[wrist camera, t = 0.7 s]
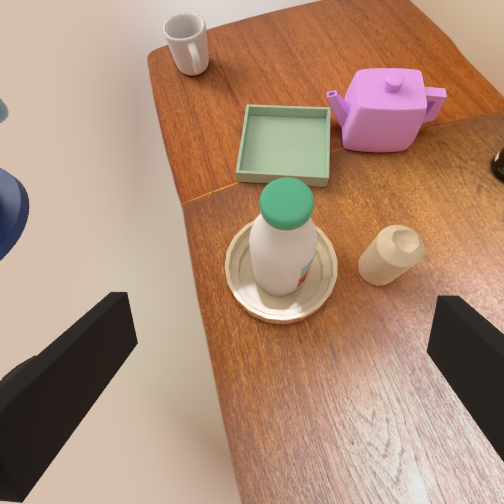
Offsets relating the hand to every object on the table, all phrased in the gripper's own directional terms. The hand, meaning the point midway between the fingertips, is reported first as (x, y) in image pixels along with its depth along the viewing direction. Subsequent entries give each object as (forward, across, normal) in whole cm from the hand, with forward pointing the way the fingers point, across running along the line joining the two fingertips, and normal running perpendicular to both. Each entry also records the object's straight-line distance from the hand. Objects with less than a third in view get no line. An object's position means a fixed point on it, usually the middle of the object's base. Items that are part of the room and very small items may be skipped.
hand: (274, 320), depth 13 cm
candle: (+30, +14, -10) cm, 35 cm away
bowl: (+29, 0, -11) cm, 31 cm away
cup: (+58, -17, +22) cm, 64 cm away
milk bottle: (+29, 0, -11) cm, 31 cm away
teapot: (+47, +16, +9) cm, 51 cm away
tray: (+44, +1, +6) cm, 45 cm away
